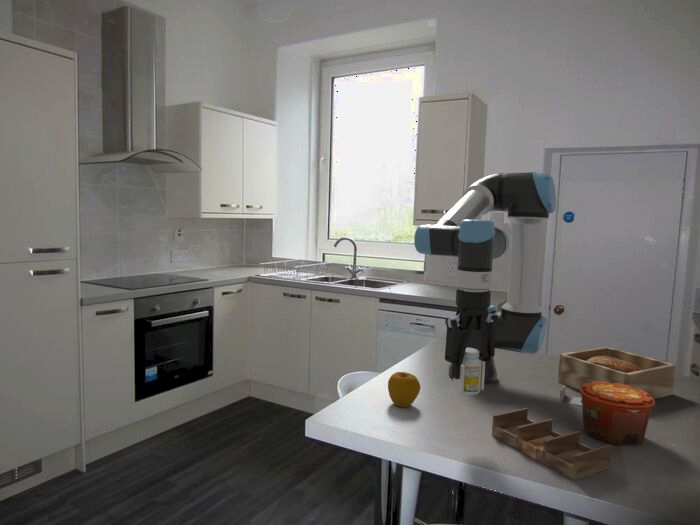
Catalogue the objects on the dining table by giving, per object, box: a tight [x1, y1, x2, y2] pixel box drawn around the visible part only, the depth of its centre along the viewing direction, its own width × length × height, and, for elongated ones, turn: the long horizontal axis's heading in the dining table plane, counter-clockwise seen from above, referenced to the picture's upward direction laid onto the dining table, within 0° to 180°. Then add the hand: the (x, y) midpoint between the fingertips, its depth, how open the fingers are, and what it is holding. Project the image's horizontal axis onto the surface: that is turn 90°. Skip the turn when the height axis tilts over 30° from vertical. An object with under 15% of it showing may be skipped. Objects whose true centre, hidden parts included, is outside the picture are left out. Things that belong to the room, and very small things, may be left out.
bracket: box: [559, 384, 582, 407], centre depth 139 cm, size 7×10×4 cm, turn 57°
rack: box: [491, 407, 612, 481], centre depth 108 cm, size 22×11×5 cm, turn 29°
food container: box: [578, 381, 656, 447], centre depth 118 cm, size 16×16×11 cm
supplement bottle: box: [462, 348, 482, 396], centre depth 111 cm, size 5×5×10 cm
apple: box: [387, 371, 421, 408], centre depth 132 cm, size 9×8×9 cm
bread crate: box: [557, 346, 676, 400], centre depth 152 cm, size 22×24×9 cm
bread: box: [587, 356, 642, 373], centre depth 152 cm, size 20×18×10 cm
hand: (468, 389), depth 112 cm, fingers closed on supplement bottle, 5 cm apart
